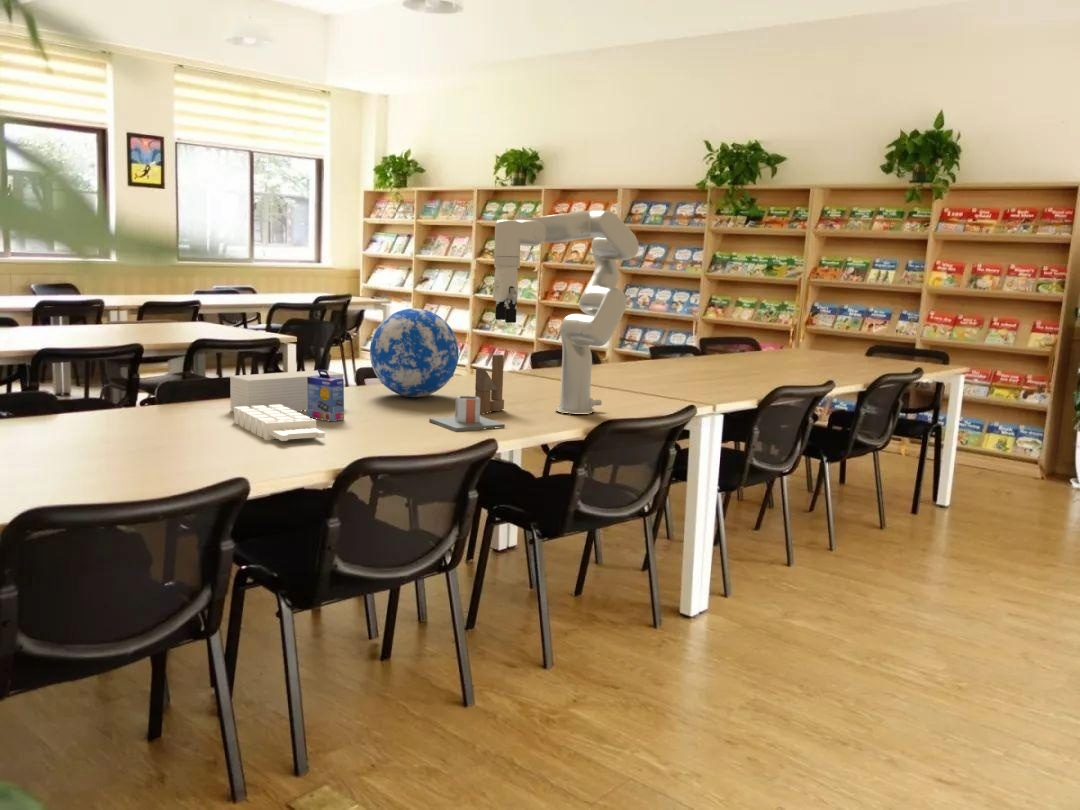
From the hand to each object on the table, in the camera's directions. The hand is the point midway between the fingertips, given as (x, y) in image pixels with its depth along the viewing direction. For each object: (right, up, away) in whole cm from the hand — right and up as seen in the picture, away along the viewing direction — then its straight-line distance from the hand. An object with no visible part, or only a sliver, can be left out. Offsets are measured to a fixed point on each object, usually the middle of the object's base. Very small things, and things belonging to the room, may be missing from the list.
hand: (505, 321), depth 280 cm
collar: (-11, -30, -5) cm, 32 cm away
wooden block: (-6, -27, +19) cm, 33 cm away
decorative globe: (-33, -22, +42) cm, 58 cm away
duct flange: (-11, -31, -5) cm, 33 cm away
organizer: (-59, -33, -28) cm, 73 cm away
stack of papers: (-66, -27, +7) cm, 72 cm away
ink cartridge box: (-52, -29, -6) cm, 60 cm away
